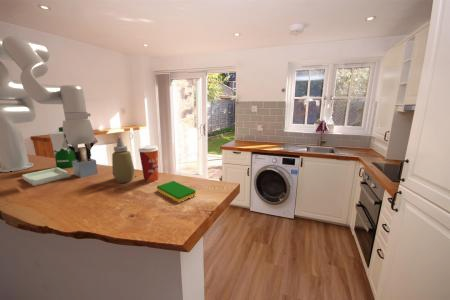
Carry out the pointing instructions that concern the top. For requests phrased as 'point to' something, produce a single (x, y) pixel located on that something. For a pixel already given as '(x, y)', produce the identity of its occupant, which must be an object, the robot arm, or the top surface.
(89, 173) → the holder
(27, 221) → the top surface
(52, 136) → the milk carton
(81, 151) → the dowel
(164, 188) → the dish sponge
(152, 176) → the paper cup
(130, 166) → the squeeze bottle
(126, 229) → the top surface
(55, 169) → the tray
